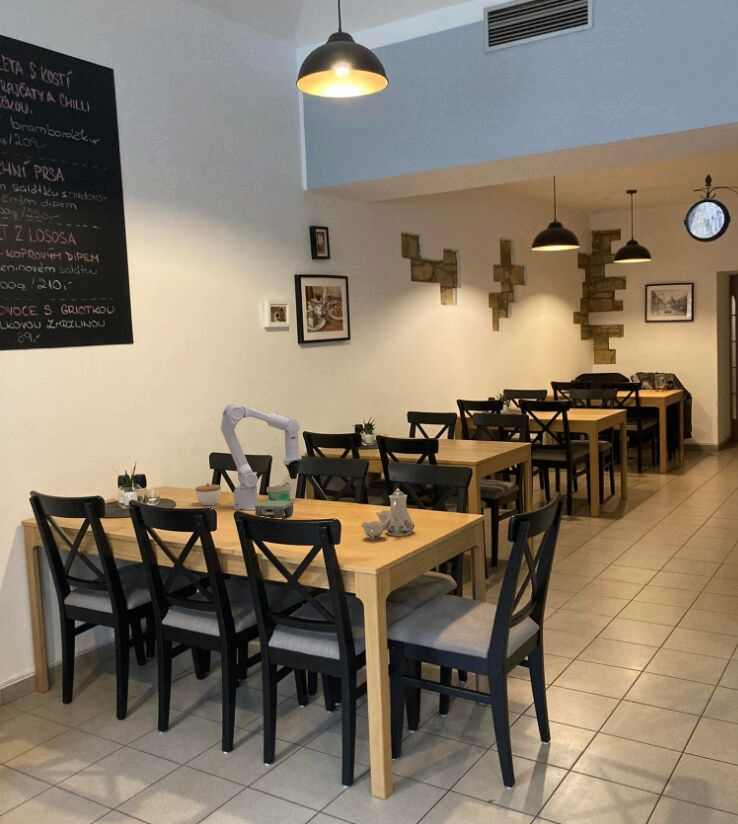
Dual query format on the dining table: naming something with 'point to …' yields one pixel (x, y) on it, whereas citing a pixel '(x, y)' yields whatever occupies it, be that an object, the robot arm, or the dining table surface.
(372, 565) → the dining table surface
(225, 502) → the dining table surface
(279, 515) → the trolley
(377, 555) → the dining table surface
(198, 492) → the lidded jar
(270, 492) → the food container
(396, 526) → the chinaware
